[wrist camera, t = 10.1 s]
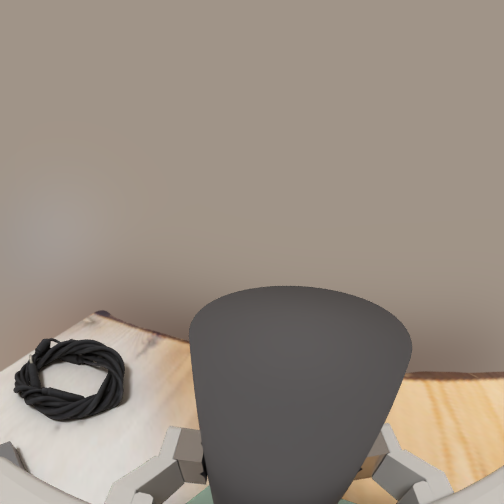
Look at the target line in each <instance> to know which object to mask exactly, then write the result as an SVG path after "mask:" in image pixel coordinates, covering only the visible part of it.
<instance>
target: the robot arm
mask: <svg viewBox="0 0 504 504" xmlns="http://www.w3.org/2000/svg"><path fill="white" fill-rule="evenodd" d="M207 475H208V474H207V469H206V463H205V458H204V452H203V446H202V440H201V433H200V430H194V429H187V428H181V427H174V426H169V428H168V429H167V432H166V435H165V438H164V441H163V445H162V448H161V451H160V454H159V456H154V457H153V458H151V459H150V460H148V461H147V462H145V463H144V464H142V465H141V466H139V467H138V468H136V469H135V470H133V471H132V472H130V473H128V474H127V475H125V476H124V477H122V478H120V479H119V480H117V481H116V482H114V483H113V484H112V486H111V489H110V491H109V493H108V496H107V498H106V501H105V503H104V504H162V503H163V502H164V501H166V500H167V499H168V498H169V497H170V496H171V495H172V494H173V493H174V492H176V491H177V490H178V489H179V488H180V487H181V486H182V485H183V484H184V482H187V483H195V484H205V485H206V481H207ZM370 477H372V479H373V480H374V481H375V482H377V483H378V484H379V485H380V486H381V487H382V488H383V489H385V490H386V491H387V492H388V493H389V494H390V495H392V496H393V497H394V498H395V499H396V500H398V502H397V503H396V504H504V465H503V466H502V467H500V468H499V469H497V470H496V471H494V472H492V473H491V474H489V475H487V476H486V477H484V478H482V479H480V480H479V481H477V482H475V483H473V484H471V485H469V486H468V487H466V488H464V489H462V490H460V491H458V492H456V493H454V491H453V489H452V487H451V485H450V483H449V481H448V479H447V477H446V475H445V473H444V472H443V471H441V470H439V469H437V468H436V467H434V466H432V465H430V464H429V463H427V462H425V461H423V460H422V459H420V458H418V457H417V456H415V455H413V454H412V453H410V452H408V451H407V450H402V449H401V447H400V445H399V442H398V440H397V438H396V436H395V434H394V432H393V430H392V428H391V425H390V424H389V423H385V424H384V425H383V427H382V429H381V431H380V433H379V435H378V437H377V439H376V441H375V443H374V445H373V446H372V448H371V450H370V452H369V454H368V456H367V458H366V459H365V461H364V463H363V465H362V466H361V468H360V470H359V471H358V473H357V475H356V476H355V478H354V480H359V479H365V478H370ZM0 504H91V503H88V502H86V501H83V500H81V499H79V498H76V497H74V496H72V495H70V494H68V493H65V492H63V491H61V490H59V489H57V488H55V487H53V486H51V485H50V484H48V483H46V482H44V481H42V480H40V479H39V478H37V477H35V476H33V475H32V474H30V473H28V472H27V471H25V470H23V469H22V468H20V467H19V466H17V465H15V464H14V463H12V462H11V461H9V460H8V459H6V458H4V457H0Z"/></svg>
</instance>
